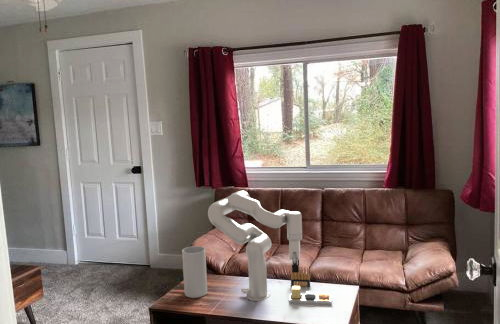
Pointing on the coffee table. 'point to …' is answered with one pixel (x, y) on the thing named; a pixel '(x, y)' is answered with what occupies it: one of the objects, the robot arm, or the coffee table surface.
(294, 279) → the ammunition clip
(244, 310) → the coffee table surface
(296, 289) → the gold brushed block
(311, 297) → the grey brushed cube
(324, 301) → the rail
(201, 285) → the cylinder vase
